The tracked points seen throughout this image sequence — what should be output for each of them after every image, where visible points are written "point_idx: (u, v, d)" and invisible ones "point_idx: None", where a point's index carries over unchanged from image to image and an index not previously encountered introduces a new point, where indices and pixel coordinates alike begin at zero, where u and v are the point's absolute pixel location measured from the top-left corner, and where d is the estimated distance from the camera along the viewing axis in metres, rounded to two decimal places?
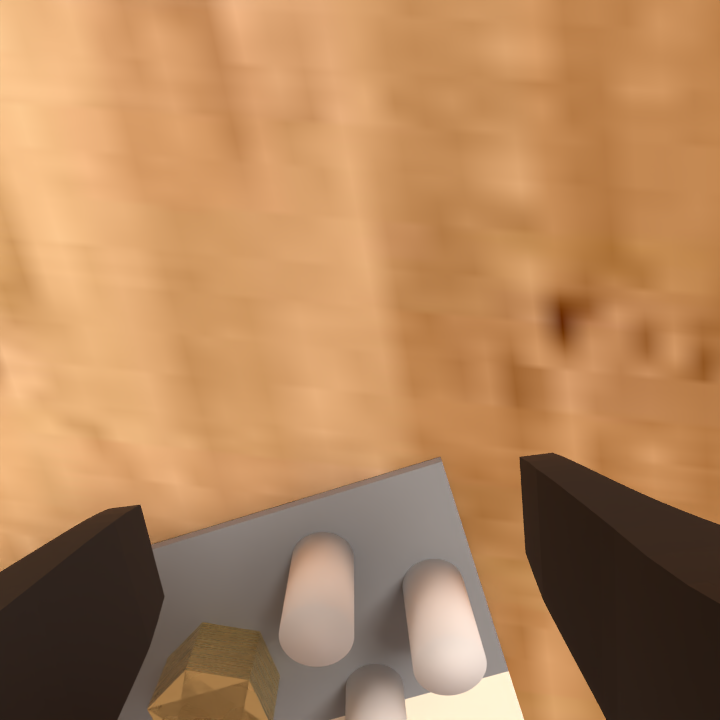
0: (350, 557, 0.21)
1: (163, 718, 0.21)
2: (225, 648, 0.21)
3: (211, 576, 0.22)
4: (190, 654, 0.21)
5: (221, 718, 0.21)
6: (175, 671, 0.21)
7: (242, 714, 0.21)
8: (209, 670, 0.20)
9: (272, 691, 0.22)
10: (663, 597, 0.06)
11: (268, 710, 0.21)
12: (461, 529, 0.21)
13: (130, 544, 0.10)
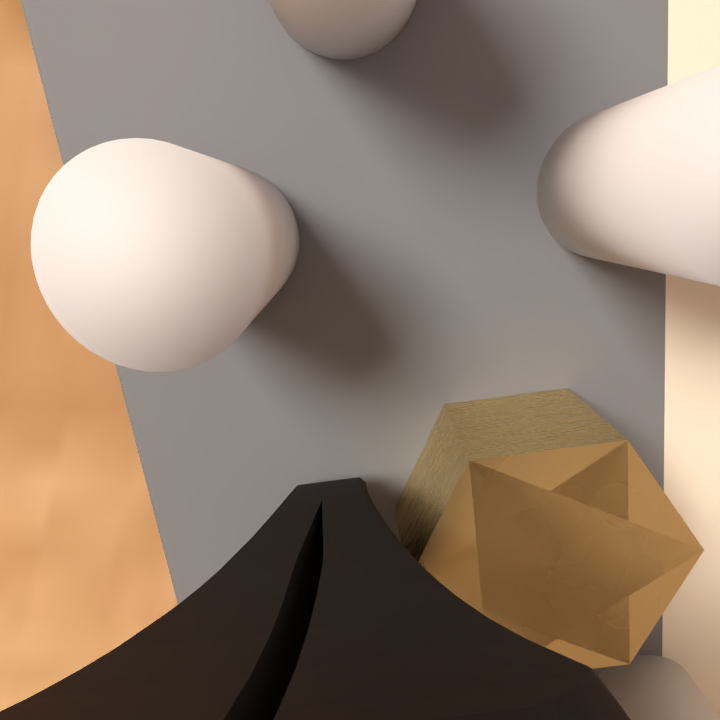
0: None
1: None
2: (426, 484, 0.10)
3: (240, 472, 0.11)
4: None
5: (560, 544, 0.09)
6: None
7: (569, 495, 0.09)
8: (427, 536, 0.09)
9: (567, 413, 0.09)
10: None
11: (585, 435, 0.08)
12: None
13: None
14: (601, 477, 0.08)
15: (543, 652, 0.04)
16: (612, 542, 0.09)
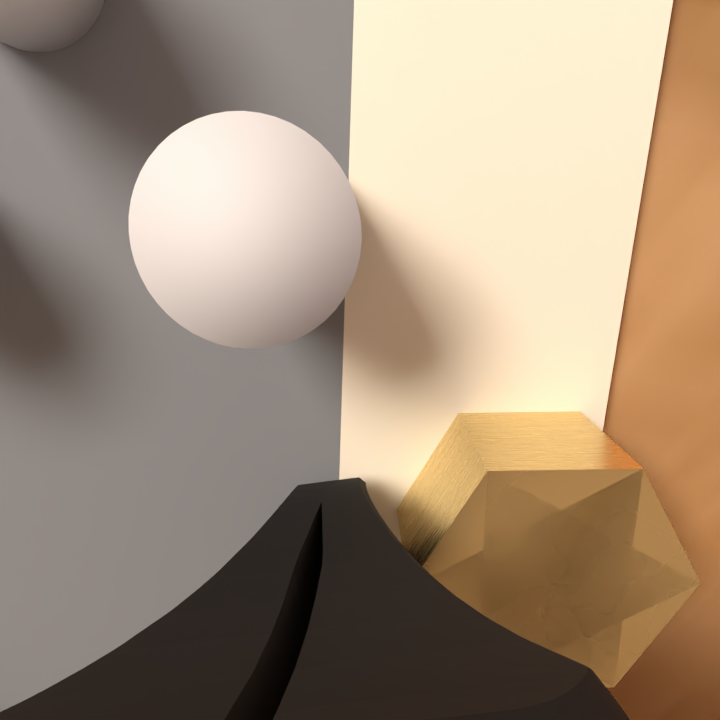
0: None
1: None
2: (435, 490, 0.10)
3: None
4: None
5: (564, 563, 0.09)
6: None
7: (578, 516, 0.09)
8: (434, 541, 0.09)
9: (582, 436, 0.10)
10: None
11: (601, 459, 0.09)
12: None
13: None
14: (613, 502, 0.08)
15: (542, 652, 0.04)
16: (614, 566, 0.09)
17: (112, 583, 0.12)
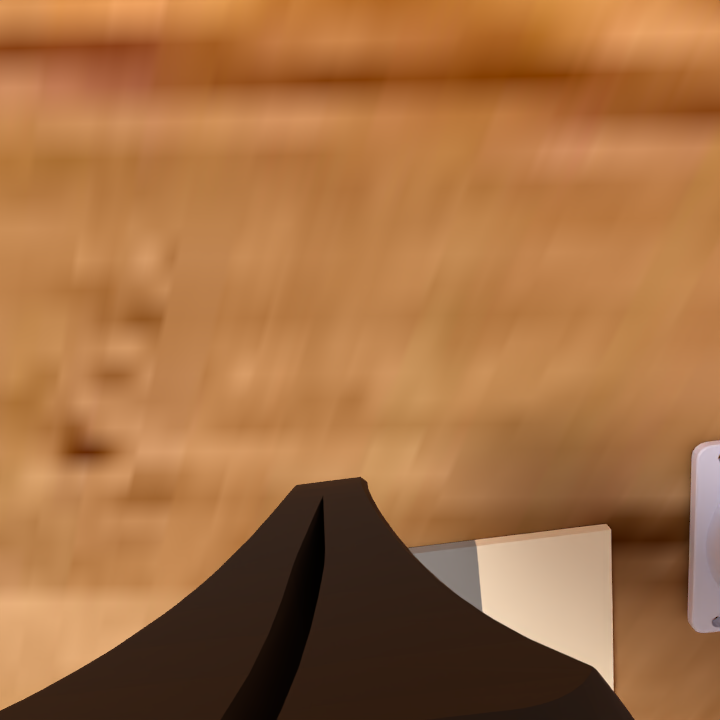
0: None
1: None
2: None
3: None
4: None
5: None
6: None
7: None
8: None
9: None
10: None
11: None
12: None
13: None
14: None
15: (546, 652, 0.04)
16: None
17: None
